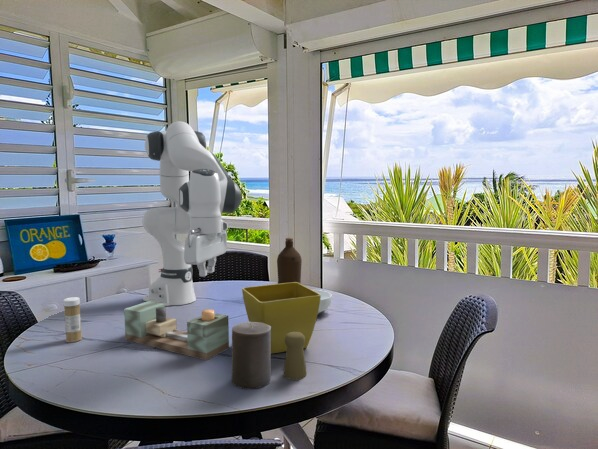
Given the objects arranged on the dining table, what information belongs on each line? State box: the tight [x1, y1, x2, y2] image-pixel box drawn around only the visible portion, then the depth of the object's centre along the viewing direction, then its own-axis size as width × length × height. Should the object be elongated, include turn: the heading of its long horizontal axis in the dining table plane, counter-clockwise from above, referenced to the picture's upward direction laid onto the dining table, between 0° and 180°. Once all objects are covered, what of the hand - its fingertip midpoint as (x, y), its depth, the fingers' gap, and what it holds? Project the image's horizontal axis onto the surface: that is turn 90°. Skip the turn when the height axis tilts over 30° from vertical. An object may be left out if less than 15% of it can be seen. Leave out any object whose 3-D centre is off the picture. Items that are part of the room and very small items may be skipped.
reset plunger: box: [201, 308, 215, 322], centre depth 128 cm, size 4×4×4 cm
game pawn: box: [283, 332, 307, 381], centre depth 113 cm, size 6×6×11 cm
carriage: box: [146, 306, 178, 337], centre depth 137 cm, size 6×7×8 cm
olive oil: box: [276, 237, 303, 284], centre depth 190 cm, size 11×11×25 cm
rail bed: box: [123, 301, 230, 361], centre depth 134 cm, size 33×10×10 cm, turn 61°
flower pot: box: [241, 282, 321, 354], centre depth 134 cm, size 19×19×17 cm
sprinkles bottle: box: [62, 296, 83, 343], centre depth 137 cm, size 5×5×14 cm
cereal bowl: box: [312, 289, 333, 315], centre depth 166 cm, size 17×17×7 cm
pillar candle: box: [231, 321, 272, 390], centre depth 110 cm, size 10×10×15 cm
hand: (207, 274), depth 126 cm, fingers open, 3 cm apart
